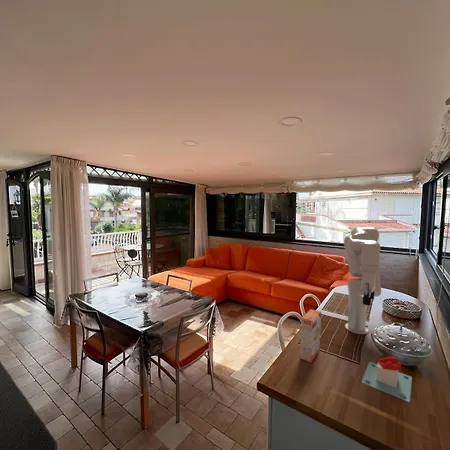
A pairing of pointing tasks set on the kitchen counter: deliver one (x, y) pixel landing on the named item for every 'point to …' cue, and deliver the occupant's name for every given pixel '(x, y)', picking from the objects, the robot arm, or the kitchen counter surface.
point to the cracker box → (310, 335)
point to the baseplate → (400, 391)
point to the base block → (387, 376)
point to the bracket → (390, 363)
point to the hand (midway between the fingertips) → (368, 301)
